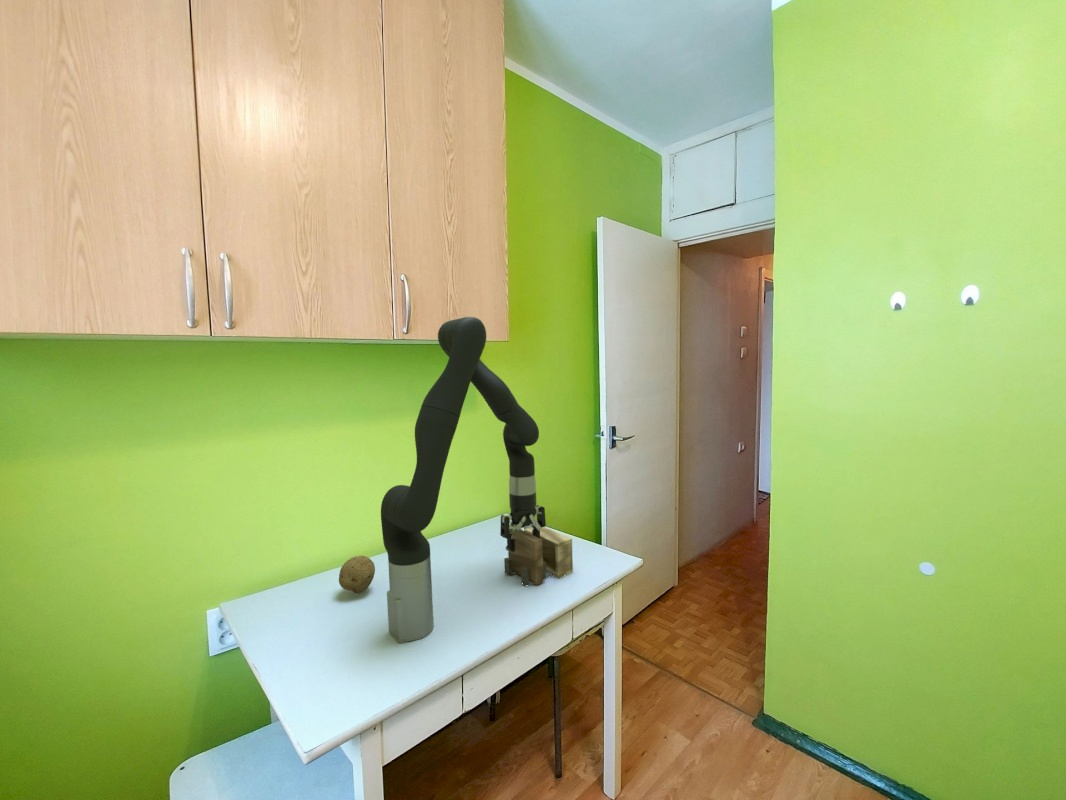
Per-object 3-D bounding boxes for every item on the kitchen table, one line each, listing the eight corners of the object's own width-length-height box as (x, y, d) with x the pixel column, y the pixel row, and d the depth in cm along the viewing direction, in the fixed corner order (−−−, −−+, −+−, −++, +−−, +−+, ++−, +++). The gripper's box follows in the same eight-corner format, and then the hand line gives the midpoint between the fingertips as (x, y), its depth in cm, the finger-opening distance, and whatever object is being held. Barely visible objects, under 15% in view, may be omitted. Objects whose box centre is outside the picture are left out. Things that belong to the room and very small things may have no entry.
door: (532, 586, 124) (530, 543, 123) (504, 570, 134) (503, 529, 133) (543, 582, 126) (542, 539, 125) (515, 566, 136) (514, 526, 135)
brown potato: (354, 605, 117) (351, 567, 117) (332, 596, 122) (330, 560, 121) (382, 589, 125) (380, 554, 124) (361, 582, 130) (359, 547, 129)
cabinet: (531, 589, 123) (530, 553, 122) (499, 570, 135) (498, 537, 134) (572, 572, 132) (572, 538, 132) (539, 556, 144) (538, 524, 143)
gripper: (509, 498, 122) (511, 558, 123) (550, 488, 131) (551, 544, 132) (493, 492, 128) (495, 549, 129) (534, 483, 136) (535, 536, 138)
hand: (524, 546), depth 130 cm, fingers open, 8 cm apart
